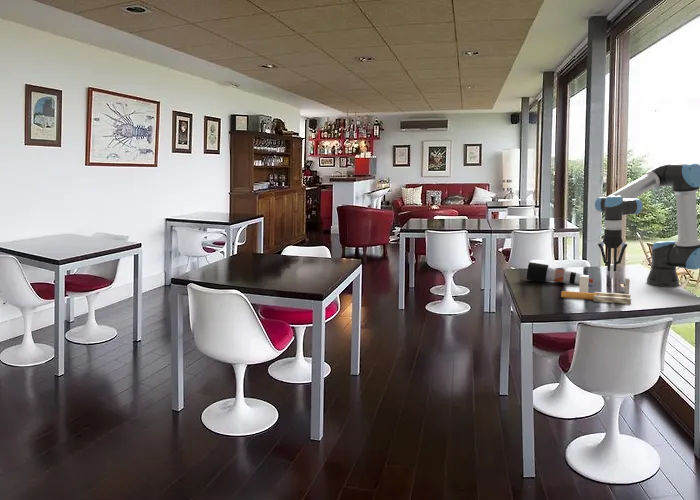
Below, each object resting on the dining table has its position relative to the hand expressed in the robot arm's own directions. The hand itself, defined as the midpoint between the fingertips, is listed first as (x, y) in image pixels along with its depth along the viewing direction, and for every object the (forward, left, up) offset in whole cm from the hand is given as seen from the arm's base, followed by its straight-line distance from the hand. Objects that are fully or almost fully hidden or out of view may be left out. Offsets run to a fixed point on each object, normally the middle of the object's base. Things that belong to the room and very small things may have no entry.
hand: (611, 277), depth 275 cm
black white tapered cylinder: (+26, -32, -11) cm, 43 cm away
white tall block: (+12, -11, -11) cm, 20 cm away
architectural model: (-7, -20, -12) cm, 24 cm away
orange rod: (+14, 0, -11) cm, 18 cm away
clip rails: (-1, 0, -11) cm, 11 cm away
